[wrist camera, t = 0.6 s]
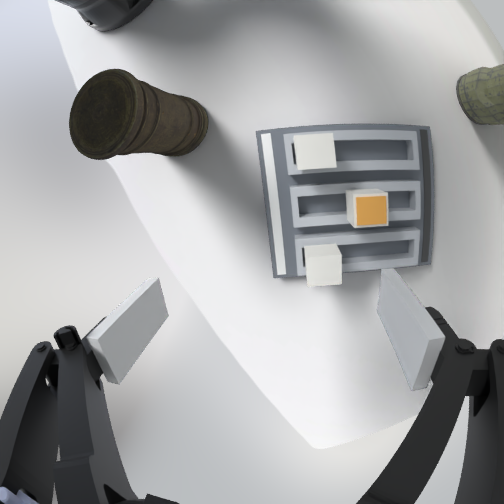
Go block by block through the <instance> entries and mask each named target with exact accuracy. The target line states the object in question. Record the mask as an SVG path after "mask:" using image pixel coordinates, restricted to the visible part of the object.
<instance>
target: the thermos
mask: <svg viewBox="0 0 504 504" xmlns="http://www.w3.org/2000/svg"><path fill="white" fill-rule="evenodd" d="M456 90H457V97H458V100H459V103H460V105H461V107H462V109H463V111H464V112H465V114H466V115H467V116H468V118H470V119H471V120H472V121H473V122H475V123H477V124H480V125H481V124H488V125H497V124H504V64H502V65H499V66H496V67H493V68H487V67H481V68H478V69H476V70H473V71H471V72H469V73H468V74H465V75H463V76H461V77H460V78H459V80H458V81H457V86H456Z"/></svg>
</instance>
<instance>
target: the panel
mask: <svg viewBox="0 0 504 504" xmlns="http://www.w3.org/2000/svg"><path fill="white" fill-rule="evenodd" d="M256 137H257V144H258V152H259V159H260V167H261V175H262V183H263V191H264V199H265V207H266V215H267V224H268V232H269V241H270V250H271V259H272V268H273V277H274V278H283V277H298V276H306V278H307V287H314V286H327V285H339V284H342V273H348V272H360V271H371V270H381V269H388V268H401V267H411V266H420V265H429V264H431V255H432V243H433V227H434V169H433V153H432V142H431V133H430V127H429V126H416V125H398V124H332V125H313V126H299V127H288V128H278V129H269V130H261V131H256ZM355 189H379V190H382V191H384V192H387V193H388V226H376V227H362V228H354V227H353V226H352V225H351V224H350V222H349V221H348V220H347V206H346V190H355Z"/></svg>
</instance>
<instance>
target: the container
mask: <svg viewBox="0 0 504 504" xmlns="http://www.w3.org/2000/svg"><path fill="white" fill-rule="evenodd" d="M69 128H70V135H71V139H72V141H73V143H74V145H75V147H76V148H77V150H78V151H79V152H80V153H81V154H83V155H85V156H86V157H88V158H91V159H96V160H97V159H98V160H104V159H109V158H111V157H114V156H116V155H128V154H131V153H154V154H161V155H165V156H182V155H185V154H187V153H189V152H191V151H193V150H194V149H195V148H196V147H197V146H198V145H199V144H200V143H201V142H202V140H203V138H204V137H205V134H206V132H207V128H208V118H207V114H206V112H205V110H204V108H203V107H202V106H201V105H200V104H199V103H198V102H197V101H195V100H194V99H191V98H188V97H184V96H179V95H175V94H170V93H167V92H165V91H162V90H160V89H158V88H156V87H153V86H151V85H149V84H148V83H146V82H144V81H140V80H137V79H136V78H135V77H134V76H133V75H132V74H131V73H129V72H127V71H125V70H121V69H109V70H105V71H102V72H100V73H98V74H96V75H94V76H93V77H92V78H90V79H89V80H88V81H87V82H86V83H85V84H84V85H83V86H82V88H81V89H80V91H79V92H78V94H77V96H76V97H75V100H74V102H73V105H72V108H71V112H70V119H69Z"/></svg>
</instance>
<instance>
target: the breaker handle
mask: <svg viewBox="0 0 504 504" xmlns="http://www.w3.org/2000/svg"><path fill="white" fill-rule="evenodd" d="M346 206H347V220H348V221H349V222H350V224H351V225H352V226H353V227H354V228H362V227H376V226H388V193H387V192H384V191H382V190H379V189H355V190H346Z"/></svg>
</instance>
